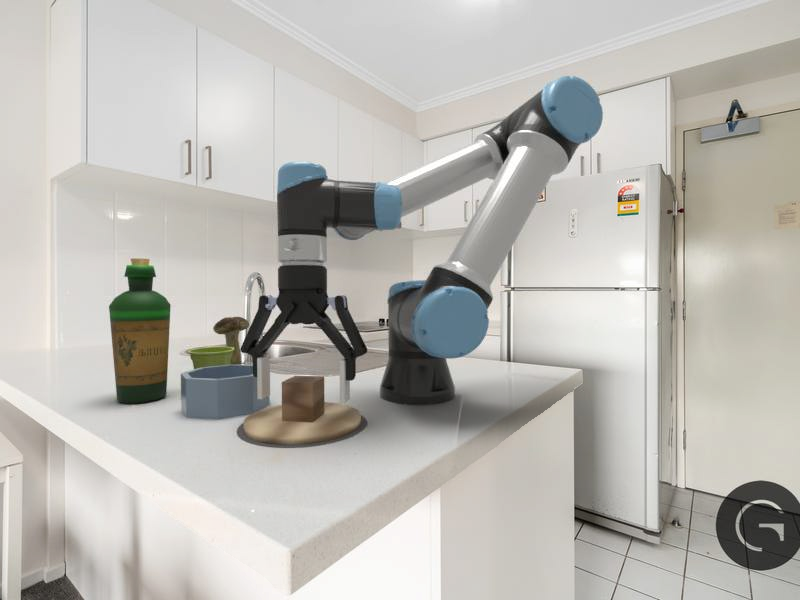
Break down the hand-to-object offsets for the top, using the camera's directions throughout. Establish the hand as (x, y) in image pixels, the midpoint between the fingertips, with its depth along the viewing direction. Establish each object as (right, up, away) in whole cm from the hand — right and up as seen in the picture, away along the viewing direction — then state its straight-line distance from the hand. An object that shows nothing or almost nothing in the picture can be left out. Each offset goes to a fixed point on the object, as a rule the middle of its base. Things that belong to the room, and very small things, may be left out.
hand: (303, 399), depth 68 cm
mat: (0, -5, 0) cm, 4 cm away
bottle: (-36, -4, +18) cm, 41 cm away
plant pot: (-27, -4, +27) cm, 38 cm away
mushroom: (-28, -4, +42) cm, 50 cm away
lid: (0, -4, 0) cm, 4 cm away
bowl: (-16, -4, +10) cm, 20 cm away
